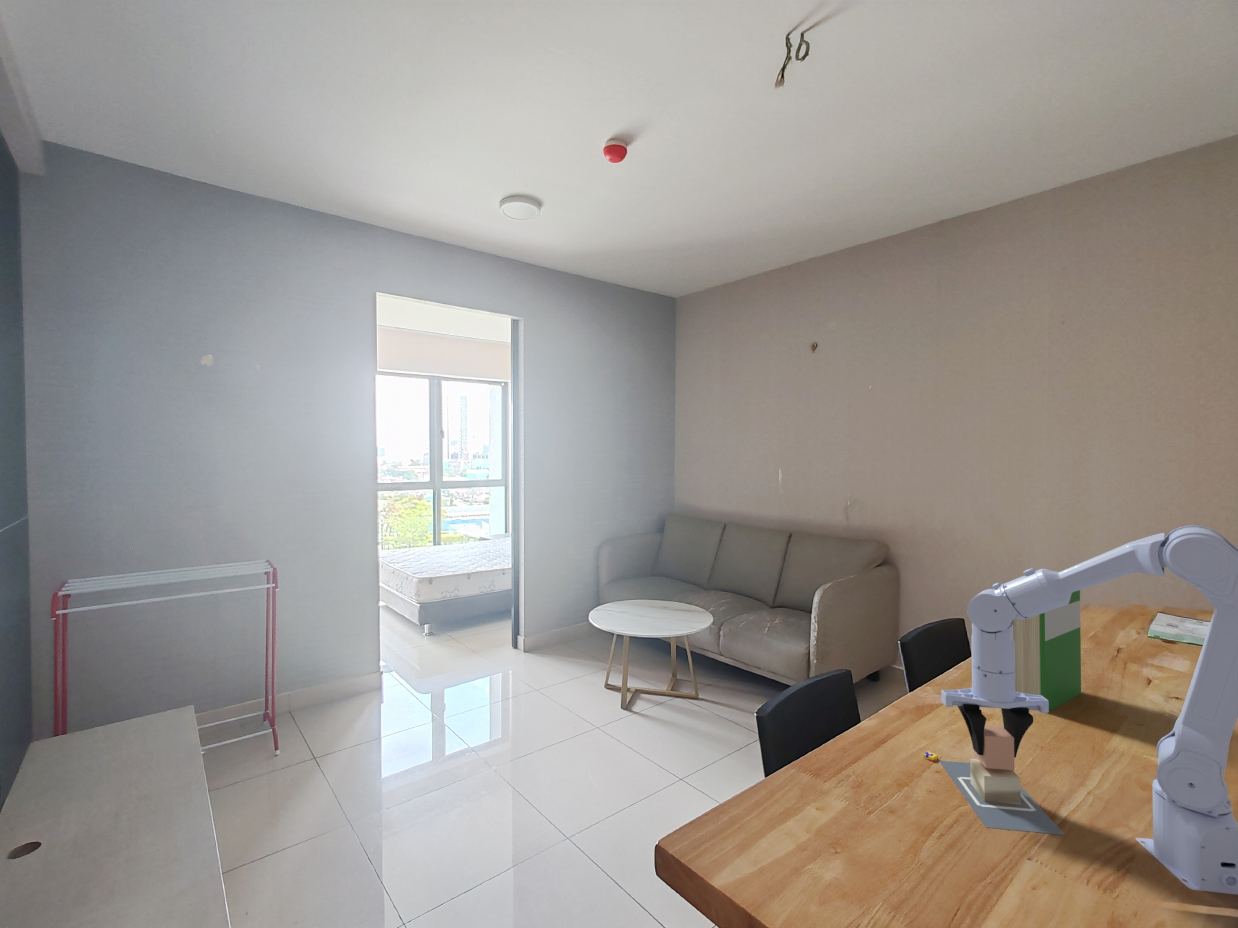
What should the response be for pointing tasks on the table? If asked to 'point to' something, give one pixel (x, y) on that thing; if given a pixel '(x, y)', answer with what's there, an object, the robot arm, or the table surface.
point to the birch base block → (995, 783)
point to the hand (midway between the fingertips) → (994, 752)
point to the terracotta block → (997, 748)
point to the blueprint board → (1001, 806)
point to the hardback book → (1049, 653)
